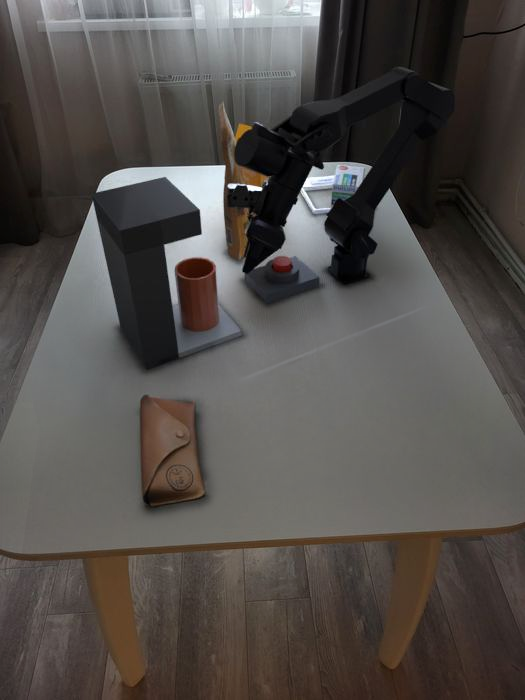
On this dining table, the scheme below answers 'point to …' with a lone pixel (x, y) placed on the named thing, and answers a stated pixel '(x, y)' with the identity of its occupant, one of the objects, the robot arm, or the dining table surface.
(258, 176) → the orange juice
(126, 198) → the coffee maker
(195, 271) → the tumbler
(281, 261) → the button
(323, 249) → the dining table surface
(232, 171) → the pancake mix bag
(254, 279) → the pad
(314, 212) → the photo frame
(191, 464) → the sunglasses case
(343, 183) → the light bulb box
